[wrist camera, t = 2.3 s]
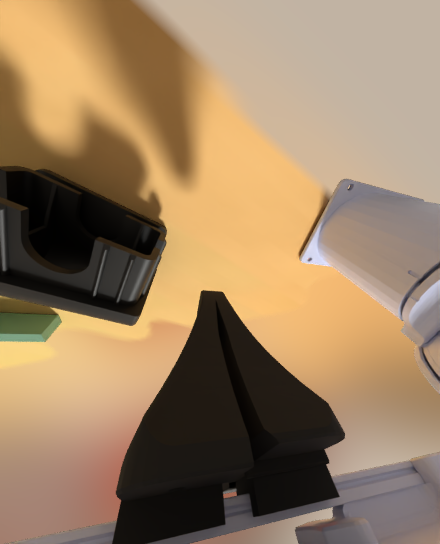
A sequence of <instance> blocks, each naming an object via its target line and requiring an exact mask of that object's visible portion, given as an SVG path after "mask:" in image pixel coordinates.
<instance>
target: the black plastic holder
mask: <svg viewBox="0 0 440 544" xmlns="http://www.w3.org/2000/svg"><path fill="white" fill-rule="evenodd" d="M166 234H167V230H166V228H165V227H164V226H163V225H161V224H159V223H157V222H155V221H153V220H151V219H149V218H147V217H145V216H142V215H140V214H138V213H136V212H134V211H132V210H130V209H128V208H126V207H124V206H122V205H120V204H118V203H116V202H114V201H111V200H109V199H107V198H105V197H103V196H101V195H99V194H97V193H95V192H93V191H91V190H89V189H87V188H85V187H83V186H80V185H78V184H76V183H74V182H72V181H70V180H68V179H66V178H64V177H62V176H60V175H58V174H56V173H54V172H52V171H49V170H45V169H40V170H36V171H34V170H31V169H28V168H24V167H19V166H6V167H0V295H1V296H5V297H9V298H13V299H18V300H22V301H26V302H31V303H35V304H39V305H44V306H48V307H52V308H56V309H61V310H65V311H69V312H74V313H78V314H82V315H87V316H91V317H95V318H99V319H104V320H108V321H112V322H117V323H121V324H125V325H129V326H133V325H135V324H136V322H137V321H138V319H139V317H140V315H141V312H142V310H143V307H144V304H145V301H146V298H147V296H148V293H149V290H150V287H151V285H152V282H153V279H154V276H155V273H156V271H157V269H156V268H157V266H158V264H159V262H160V260H161V254H162V252H163V250H164V248H165V245H166V240H165V237H166Z"/></svg>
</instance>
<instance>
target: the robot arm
mask: <svg viewBox="0 0 440 544" xmlns="http://www.w3.org/2000/svg"><path fill="white" fill-rule="evenodd" d="M349 185H350V188H349V189H348V186H349ZM308 258H310V259H308ZM299 259H300V261H301V262H302V263H309V264H316V265H324V266H331V267H333V268H335V269H336V270H337V271H338V272H340V273H341V274H342V275H344V276H345V277H346V278H347V279H349V280H350V281H351V282H353V283H354V284H355V285H357V286H358V287H359V288H361V289H362V290H363V291H364V292H366V293H367V294H368V295H369V296H371V297H372V298H373V299H375V300H376V301H377V302H378V303H380V304H381V305H383V306H384V307H385V308H386V309H388V310H389V311H390V312H391V313H393V314H394V315H395V316H397V317H398V318H399V319H401V320H402V321H404V326H403V328H402V329H401V332H402V333H403V334H404V335H406V336H407V337H408V338H409V339H411V340H412V341H413V342H414V343H415V344H416V346H415V349H414V355H415V359H416V362H417V364H418V367H419V368H420V370H421V372H422V374H423V375H424V376H425V378H426V379H427V381H428V382H429V383H430V384H431V385H432V386H433V387H434V388H435V390H436V391H437V392H438V393H439V394H440V204H436V203H431V202H425V201H424V200H423V199H419V198H415V197H412V196H408V195H404V194H400V193H397V192H393V191H389V190H386V189H382V188H379V187H375V186H371V185H368V184H364V183H360V182H356V181H353V180H349V179H343V180H342V181H340V182H339V184H338V185H337V187H336V189H335V191H334V193H333V195H332V197H331V199H330V201H329V203H328V204H327V206H326V208H325V210H324V212H323V214H322V216H321V218H320V220H319V222H318V224H317V225H316V227H315V229H314V231H313V233H312V235H311V237H310V239H309V241H308V243H307V244H306V246H305V248H304V250H303V252H302V254H301V256H300V258H299ZM344 438H345V433H344V431H343V429H342V427H341V425H340V424H339V422H338V420H337V418H336V416H335V415H334V413H333V411H332V409H331V408H330V406H329V404H328V403H327V402H326V401H324V400H323V399H322V398H321V397H319V396H318V395H317V394H315V393H314V392H313V391H312V390H310V389H309V388H308V387H306V386H305V385H304V384H303V383H301V382H300V381H299V380H298V379H297V378H295V377H294V376H293V375H292V374H291V373H290V372H288V371H287V370H286V369H285V368H284V367H283V366H282V365H281V364H280V363H278V361H276V359H275V358H273V357H272V356H271V355H270V354H269V353H268V352H267V351H266V350H265V349H264V347H263V346H262V345H261V344H260V343H259V342H258V341H257V340H256V339H255V337H254V336H253V335H252V334H251V333H250V331H249V330H248V329H247V327H246V326H245V325H244V324H243V322H242V321H241V319H240V318H239V316H238V315H237V314H236V312H235V311H234V309H233V308H232V306H231V304H230V303H229V301H228V300H227V298H226V296H225V295H224V293H223V292H218V291H204V290H203V291H201V295H200V300H199V306H198V311H197V318H196V320H195V323H194V326H193V328H192V331H191V333H190V335H189V338H188V340H187V342H186V344H185V347H184V348H183V350H182V352H181V354H180V356H179V358H178V360H177V362H176V364H175V366H174V368H173V369H172V371H171V373H170V375H169V376H168V378H167V379H166V381H165V383H164V385H163V386H162V388H161V390H160V391H159V393H158V394H157V396H156V397H155V399H154V401H153V402H152V404H151V405H150V407H149V409H148V410H147V411H146V413H145V415H144V416H143V419H142V421H141V423H140V425H139V427H138V429H137V431H136V433H135V436H134V438H133V440H132V442H131V444H130V446H129V448H128V450H127V453H126V455H125V459H124V461H123V464H122V467H121V472H120V476H119V481H118V485H117V490H116V495H117V497H118V498H119V499H121V504H120V509H119V513H118V518H117V521H113V522H108V523H103V524H98V525H93V526H88V527H84V528H79V529H74V530H69V531H64V532H59V533H54V534H50V535H45V536H40V537H35V538H30V539H25V540H21V541H15V542H11V543H6V544H190V543H194V542H198V541H201V540H205V539H209V538H213V537H217V536H221V535H225V534H229V533H233V532H236V531H240V530H245V529H248V528H252V527H256V526H260V525H264V524H268V523H271V522H276V521H280V520H284V519H288V518H292V517H296V516H299V515H303V514H307V513H311V512H315V511H319V510H322V509H327V508H331V507H333V517H332V519H324V520H316V521H311V522H308V523H305V524H303V525H300V526H298V527H296V530H295V532H296V536H297V540H298V543H299V544H440V452H437V453H433V454H428V455H423V456H420V457H416V458H412V459H411V460H409V461H404V462H399V463H395V464H389V465H384V466H380V467H375V468H370V469H365V470H360V471H355V472H351V473H346V474H341V475H336V476H331V475H330V473H329V470H328V468H327V466H326V464H328V463H329V459H328V457H327V455H326V452H325V450H324V449H326V448H328V447H330V446H332V445H334V444H337V443H339V442H340V441H342V440H343V439H344ZM231 492H237V496H234V497H230V498H224V499H223V494H226V493H231Z"/></svg>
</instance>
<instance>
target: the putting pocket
mask: <svg viewBox="0 0 440 544" xmlns="http://www.w3.org/2000/svg"><path fill="white" fill-rule="evenodd" d="M60 324H61V319H60V317H59V315H47V314H21V313H0V341H18V342H46V340H47V339H48V338H49V337H50V336H51V334H52V333H53V332H54V331H55V330H56V328H57V327H58V326H59V325H60Z"/></svg>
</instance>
